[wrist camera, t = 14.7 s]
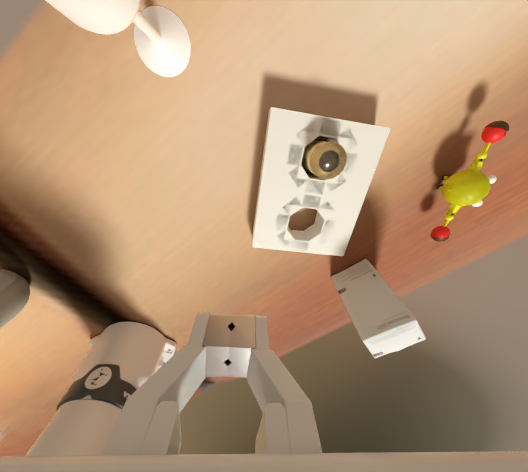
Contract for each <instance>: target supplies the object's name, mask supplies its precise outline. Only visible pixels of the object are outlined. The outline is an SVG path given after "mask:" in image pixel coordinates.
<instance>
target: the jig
mask: <svg viewBox="0 0 528 472" xmlns="http://www.w3.org/2000/svg"><path fill="white" fill-rule="evenodd" d="M390 129H391V128H386V127H381V126H375V125H370V124H364V123H358V122H353V121H347V120H342V119H336V118H330V117H325V116H319V115H314V114H308V113H302V112H297V111H291V110H286V109H280V108H274V107H271V108H270V109H269V114H268V121H267V128H266V136H265V143H264V151H263V158H262V166H261V173H260V181H259V188H258V196H257V203H256V211H255V218H254V226H253V233H252V247H256V248H266V249H276V250H286V251H295V252H305V253H315V254H325V255H335V256H344V253H345V250H346V248H347V245H348V242H349V240H350V237H351V234H352V231H353V229H354V226H355V223H356V221H357V218H358V215H359V212H360V210H361V207H362V204H363V202H364V199H365V196H366V194H367V191H368V188H369V185H370V183H371V180H372V177H373V175H374V172H375V169H376V166H377V164H378V161H379V158H380V156H381V153H382V150H383V148H384V145H385V142H386V139H387V137H388V134H389V131H390ZM318 136H319V137H325V138H327V139H328V141H329V142H334V143H338V144H340V145H341V146H342V147H343V148H344V150H345V152H346V155H347V161H346V165H345V167H344V169H343V171H342V172H341V173H340V174H339V175H338V176H336V177H334V178H332V179H322V178H319V177H318V176H316V175H310V174H306V172H305V171H304V169H303V167H302V166H301V162H302V158H303V153H304V148H305V146H307V145H308V144H309V143H311V142H312V141H313V140H315V139H316V138H317V137H318ZM301 208H310V209H316V211H317V215H316V218H315V222H314V224H313V225H311V226H310V227H308V228H307V229H305V230H304V231H299V230H291V229H290V228H289V227H288V223H289V219H290V216H291V215H292V214H294V213H295V212H297V211H298V210H300V209H301Z"/></svg>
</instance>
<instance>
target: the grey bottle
mask: <svg viewBox="0 0 528 472" xmlns="http://www.w3.org/2000/svg"><path fill="white" fill-rule="evenodd" d="M29 295H30V288H29V284H28V282H27V281H26V280H25V279H24V278H23V277H22V276H20V275H19V274H17V273H14V272H12V271H9V270H5V269H0V328H1V327H3V326H4V325H5V324H6V323H8V322H9V321H10V320H11V319H12V318H14V317H15V316H16V315H17V314H18V313H19V312H20V311H21V310H22V309H23V307H24V306H25V305H26V303H27V301H28V299H29Z"/></svg>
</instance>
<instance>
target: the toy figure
mask: <svg viewBox="0 0 528 472" xmlns="http://www.w3.org/2000/svg"><path fill="white" fill-rule="evenodd" d="M507 131H509V125H508V124H507V123H506V122H504V121H495V122H492V123H490V124H489V125H487V126H486V127H485V129H484V130H483V132H482V140H483V141H484V142H486V143H487V144H486V145H485V147H484V148H483V150H482V151H481V152H479V153H477V155H476V159H475V160H474V162H473V163H472V165H471V166H470V167H469V168H468V169H467V171H461V172H458V173H456V174H454V175H452V176H451V177H450V176H443V179H442V180H446V181H445V183H444V184H443V186H440V185H439V187H438V188H437V189H438V190H442V195H443V197H444V198H445V200H447V201H448V202H449V203H450V205H449V210H448V212H447V214H446V215H445V216H444V218H445V222H444V225H443V226H438V227H436V228H434V229H433V230H432V232H431V237H432V239H434V240H435V241H439V242H440V241H445V240H447V239H448V238H449V235H450V230H449V229H448V228H447V227H446V226H447V224H448V223H449V221H450V220H452V219H453V218H454V215H455V214H456V212H457V211H458V210H459V209H460V207H461V206H467V205H472V206H474V207H478V206H480V205H482V203H483V201H482V199H483V198H484V197H485V196H486V195H487V194H488V192H489V190H490V184H492V183H494V182H495V181H496V179H497V178H496V176H494V175H488V176H486V175H485V174H483V173H481V167H482V164H483V162H484V159H485V158H486V157H487V150H488V148H489V146H490V143H494V142H497V141H499V140H501V139H502V138H503V137H504V136H505V135H506V132H507Z"/></svg>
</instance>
